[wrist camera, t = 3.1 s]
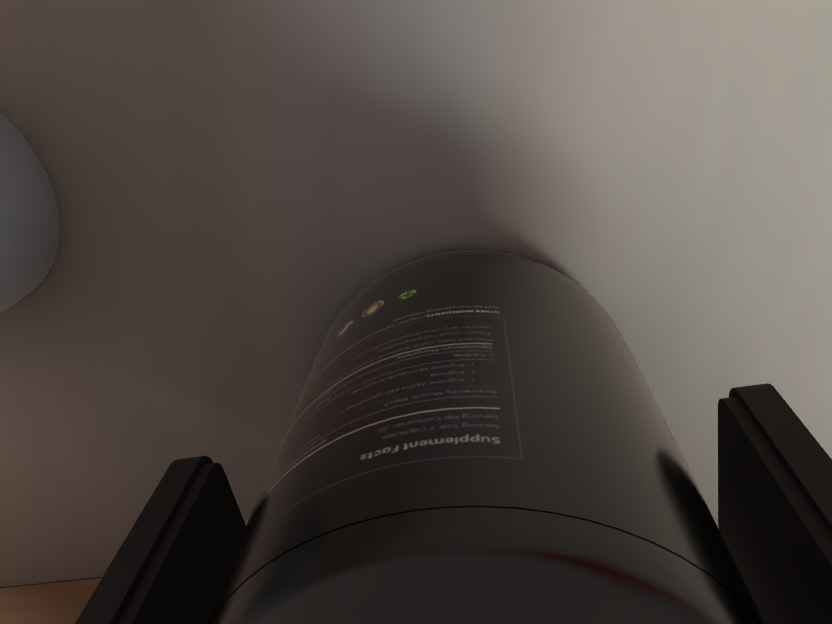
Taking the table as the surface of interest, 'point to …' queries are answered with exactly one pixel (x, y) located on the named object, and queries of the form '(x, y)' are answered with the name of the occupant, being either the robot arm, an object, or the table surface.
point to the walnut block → (46, 602)
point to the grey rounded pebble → (24, 217)
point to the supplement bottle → (479, 469)
